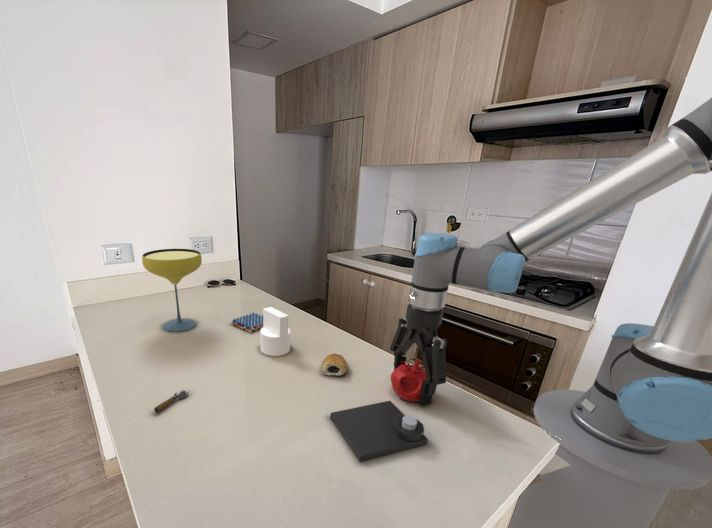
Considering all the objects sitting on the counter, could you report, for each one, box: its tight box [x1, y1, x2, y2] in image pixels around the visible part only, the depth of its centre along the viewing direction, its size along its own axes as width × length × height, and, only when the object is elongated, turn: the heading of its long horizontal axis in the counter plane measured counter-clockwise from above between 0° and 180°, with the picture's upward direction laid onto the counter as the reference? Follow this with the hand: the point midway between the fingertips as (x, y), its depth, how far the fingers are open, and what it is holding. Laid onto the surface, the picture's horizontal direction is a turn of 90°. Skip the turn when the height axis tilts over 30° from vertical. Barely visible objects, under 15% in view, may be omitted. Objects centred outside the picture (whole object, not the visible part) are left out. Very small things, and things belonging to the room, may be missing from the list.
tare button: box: [401, 415, 418, 431], centre depth 68 cm, size 3×3×2 cm
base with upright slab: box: [259, 306, 291, 357], centre depth 101 cm, size 9×9×12 cm
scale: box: [329, 400, 429, 463], centre depth 70 cm, size 15×13×3 cm
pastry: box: [320, 353, 348, 377], centre depth 93 cm, size 9×7×4 cm
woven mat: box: [231, 312, 263, 333], centre depth 120 cm, size 10×11×2 cm
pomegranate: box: [390, 359, 433, 402], centre depth 82 cm, size 10×10×9 cm
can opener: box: [154, 390, 189, 413], centre depth 78 cm, size 9×2×1 cm, turn 144°
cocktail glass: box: [141, 248, 203, 333], centre depth 114 cm, size 18×18×25 cm
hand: (410, 391), depth 83 cm, fingers closed on pomegranate, 10 cm apart
